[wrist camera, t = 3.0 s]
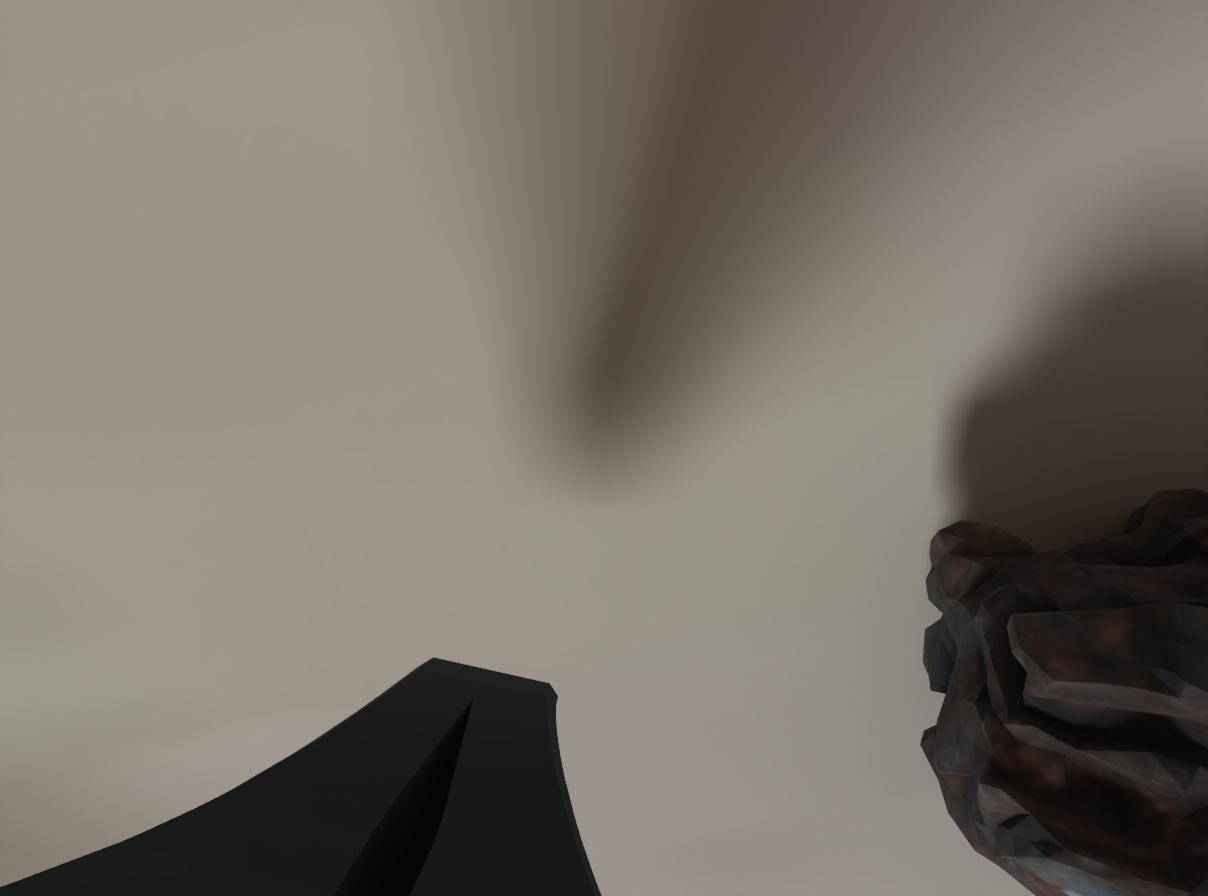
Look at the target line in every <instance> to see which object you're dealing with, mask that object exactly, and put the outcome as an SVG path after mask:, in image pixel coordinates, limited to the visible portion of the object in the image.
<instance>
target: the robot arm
mask: <svg viewBox="0 0 1208 896" xmlns="http://www.w3.org/2000/svg"><path fill="white" fill-rule="evenodd" d="M557 698H558V696H557V694H556V693H555V691H554V689H553V688H552V686H551V685H550V683H545V682H541V681H536V680H532V679H528V678H523V677H519V676H514V675H510V674H505V673H501V672H496V671H492V670H487V669H483V668H478V667H474V666H469V665H465V664H460V663H456V662H451V661H447V660H442V659H438V658H432V659H430V660H429V661H427V662H425V663H424V664H422V665H420V666H419V667H418V668H416V669H415V670H413V671H412V672H411V673H409V674H408V675H407V676H405V677H404V678H403V679H401V680H400V681H399V682H397V683H396V684H394V685H393V686H392V687H390V688H389V689H388V690H386V691H385V692H384V693H382V694H381V695H379V696H378V697H377V698H375V699H374V700H372V701H371V702H370V703H368V704H367V705H365V706H364V707H363V708H361V709H360V710H358V711H357V712H356V713H354V714H353V715H351V716H350V717H348V718H347V719H345V720H344V721H342V722H341V723H339V724H338V725H336V726H335V727H333V728H332V729H330V730H329V731H327V732H326V733H324V734H323V735H321V736H320V737H318V738H317V739H315V740H314V741H312V742H311V743H309V744H308V745H306V746H305V747H303V748H301V749H300V750H298V751H297V752H295V753H293V754H292V755H290V756H288V757H287V758H285V759H283V760H282V761H280V762H278V763H276V764H275V765H273V766H271V767H270V768H268V769H266V770H265V771H263V772H261V773H259V774H258V775H256V776H254V777H253V778H251V779H249V780H247V781H246V782H244V783H242V784H241V785H239V786H237V787H236V788H234V789H232V790H230V791H228V792H226V793H225V794H223V795H221V796H219V797H217V798H215V799H213V800H211V801H209V802H207V803H205V804H203V805H201V806H199V807H197V808H195V809H193V810H191V811H189V812H186V813H184V814H182V815H180V816H178V817H176V818H173V819H171V820H169V821H167V822H165V823H163V824H160V825H158V826H156V827H154V828H152V829H150V830H147V831H145V832H143V833H141V834H138V835H136V836H134V837H131V838H129V839H127V840H124V841H122V842H120V843H117V844H114V845H112V846H109V847H106V848H104V849H101V850H98V851H96V852H93V853H90V854H88V855H85V856H82V857H80V858H77V859H75V860H72V861H69V862H67V863H64V864H61V865H59V866H56V867H53V868H51V869H48V870H45V871H43V872H40V873H37V874H35V875H32V876H30V877H27V878H24V879H22V880H19V881H16V882H14V883H11V884H8V885H5V886H2V887H0V896H601V893H600V891H599V888H598V886H597V883H596V881H595V878H594V875H593V872H592V869H591V866H590V863H589V861H588V858H587V855H586V852H585V849H584V846H583V843H582V840H581V837H580V833H579V830H578V827H577V824H576V820H575V817H574V813H573V809H572V805H571V801H570V797H569V793H568V789H567V785H566V781H565V777H564V772H563V767H562V762H561V757H560V750H559V744H558V737H557V727H556V703H557Z"/></svg>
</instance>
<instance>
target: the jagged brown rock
mask: <svg viewBox="0 0 1208 896" xmlns="http://www.w3.org/2000/svg"><path fill="white" fill-rule="evenodd" d="M930 558H931V563H932V569H931V571H930V573H929V575H928V576H927V578H926V585H927V592H928V598H929V601H930V602H932V603H933V604H934V605H935V606H936V607H937V608H938V609H939V610H940V611H941V612H942V613H943V615H942V617H941V619H940V620H938V621H937V622H935V623H934V624H932V625H931V626H929V627H928V628H926V629H925V637H924V652H923V663H924V666H925V668H926V670H927V673H928V675H929V681H930V689H931V691H936V692H940V693H945V694H946V696H945V699H944V702H943V705H942V708H941V711H940V714H939V717H938V720H937V725H935V726H933V727H931V728H929V729H926V730H924V733H923V736H922V740H921V744H920V745H921V747H922V749H923V751H924V753H925V755H926V757H927V759H928V761H929V763H930V765H931V767H932V769H933V771H934V772H935V774H936V776H937V778H938V780H939V784H940V787H941V790H942V794H943V797H944V800H945V804H946V807H947V810H948V813H949V815H950V816H951V817H952V819H953V820H954V822H955V823H956V825H957V826H958V827H959V829H960V830H961V832H962V833H963V835H964V836H965V837H966V839H967V840H968V842H969V843H970V845H971V846H972V847H973V849H974V850H975V851H976V852H978V853H979V854H981V855H982V856H984V857H986V858H987V859H989V860H990V861H992V862H993V863H995V864H996V865H998V866H999V867H1001V868H1002V869H1003V870H1004V871H1006V872H1007V873H1008V874H1009V875H1011V876H1012V877H1013V878H1014V879H1016V880H1017V881H1018V882H1019V883H1021V884H1022V885H1023V886H1024V887H1026V888H1027V889H1028V890H1030V891H1031V892H1032V893H1033V894H1035V895H1036V896H1208V493H1207V492H1204V491H1201V490H1197V489H1192V490H1174V491H1161V492H1159V493H1157V494H1155V495H1153V496H1152V498H1151V499H1150V500H1149V501H1148V502H1147V503H1146V505H1145V506H1144V507H1139V508H1138V509H1137V510H1136V511H1135V512H1134V513H1133V515H1132V517H1131V519H1130V521H1129V522H1128V524H1127V526H1126V528H1125V530H1124V531H1123V533H1122V535H1120V536H1115V537H1110V538H1105V539H1101V540H1097V541H1092V542H1088V543H1084V544H1080V545H1076V546H1075V547H1073V548H1072V549H1071V550H1069V551H1068V552H1066V553H1065V554H1063V553H1060V552H1058V551H1054V552H1047V553H1040V554H1035V552H1034V551H1033V549H1032V547H1031V546H1030V544H1029V543H1028V542H1026V541H1024V540H1022V539H1020V538H1018V537H1016V536H1014V535H1012V534H1010V533H1007V532H1005V531H1003V530H1000V529H998V528H995V527H991V526H988V525H984V524H980V523H976V522H968V521H959V522H956V523H954V524H952V525H950V526H948V527H946V528H943V529H941V530H939V531H938V532H937V534H936V535H935V536H934V537H933V539H932V540H931V545H930Z"/></svg>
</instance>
